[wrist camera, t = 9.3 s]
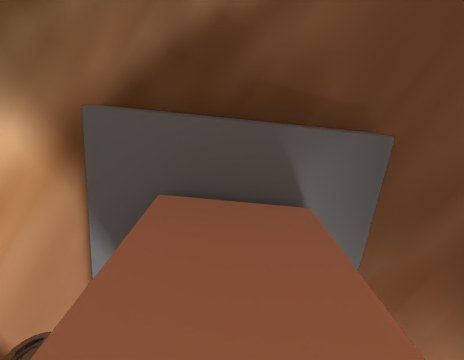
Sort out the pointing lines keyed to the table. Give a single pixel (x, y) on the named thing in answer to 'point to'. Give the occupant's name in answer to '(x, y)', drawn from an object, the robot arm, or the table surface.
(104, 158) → the post base
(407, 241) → the table surface
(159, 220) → the salmon pink cube
